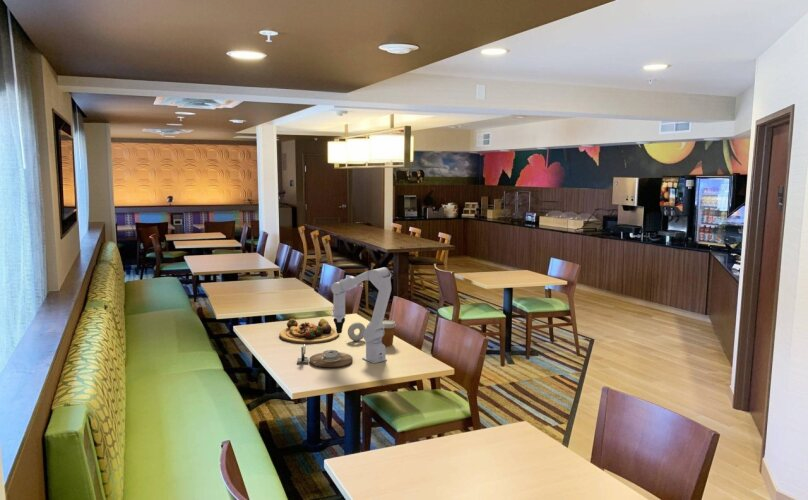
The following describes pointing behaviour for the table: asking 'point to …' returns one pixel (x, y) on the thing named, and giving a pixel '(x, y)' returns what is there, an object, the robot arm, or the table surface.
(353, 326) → the donut
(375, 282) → the robot arm
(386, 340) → the disposable coffee cup
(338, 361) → the turntable
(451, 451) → the table surface
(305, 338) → the wooden plate with food
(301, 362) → the dial gauge
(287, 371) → the table surface
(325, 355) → the cover
